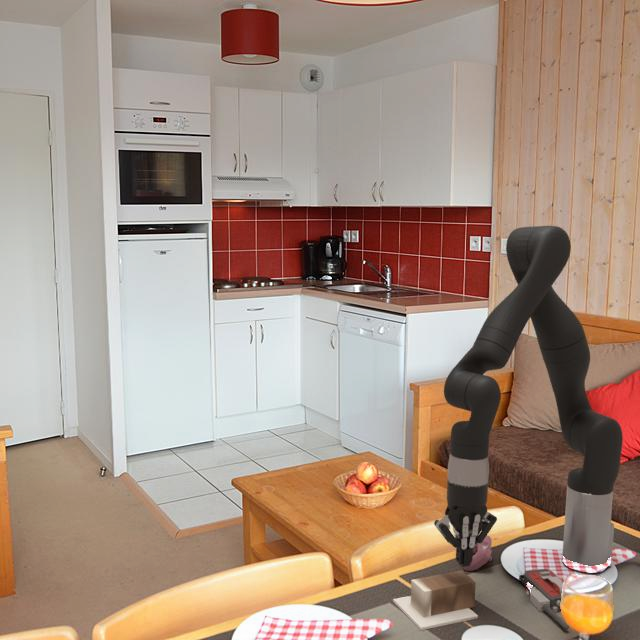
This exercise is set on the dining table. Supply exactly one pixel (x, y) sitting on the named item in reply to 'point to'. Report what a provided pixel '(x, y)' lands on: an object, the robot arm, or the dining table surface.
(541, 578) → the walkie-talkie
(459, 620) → the cream square tile
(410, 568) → the dining table surface
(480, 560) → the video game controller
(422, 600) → the walnut block
